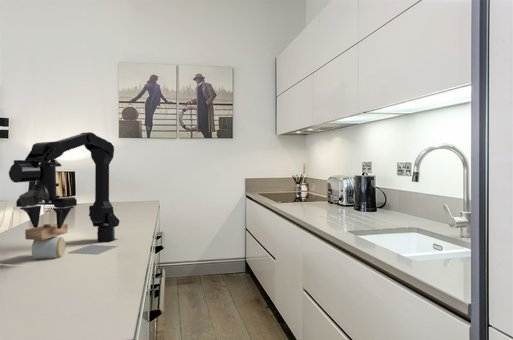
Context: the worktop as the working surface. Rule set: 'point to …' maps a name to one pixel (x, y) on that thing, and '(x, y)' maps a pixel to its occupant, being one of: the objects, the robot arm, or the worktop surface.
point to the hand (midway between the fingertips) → (47, 228)
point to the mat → (93, 249)
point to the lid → (45, 231)
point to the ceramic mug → (48, 248)
